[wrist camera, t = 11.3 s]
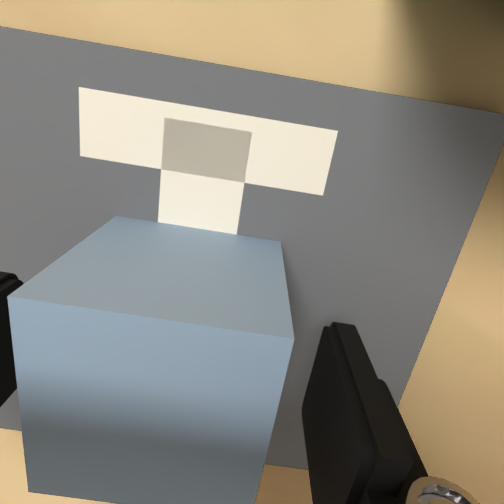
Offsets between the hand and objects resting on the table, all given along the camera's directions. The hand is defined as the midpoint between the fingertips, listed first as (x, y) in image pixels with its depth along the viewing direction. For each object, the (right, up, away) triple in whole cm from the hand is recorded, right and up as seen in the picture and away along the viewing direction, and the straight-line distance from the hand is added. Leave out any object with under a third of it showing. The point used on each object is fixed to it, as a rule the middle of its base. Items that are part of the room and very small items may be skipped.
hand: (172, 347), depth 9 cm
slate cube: (0, +1, +2) cm, 3 cm away
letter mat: (0, +1, +3) cm, 3 cm away
